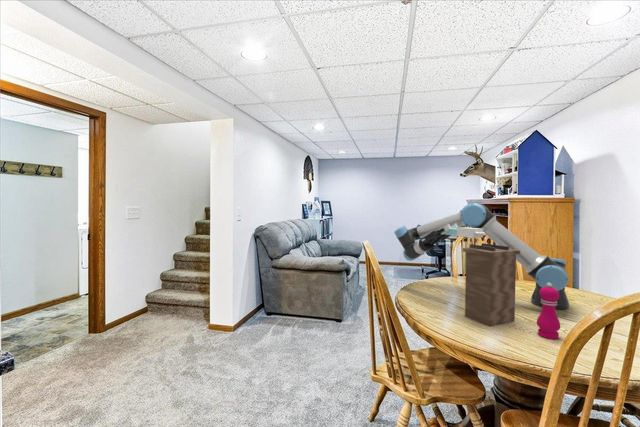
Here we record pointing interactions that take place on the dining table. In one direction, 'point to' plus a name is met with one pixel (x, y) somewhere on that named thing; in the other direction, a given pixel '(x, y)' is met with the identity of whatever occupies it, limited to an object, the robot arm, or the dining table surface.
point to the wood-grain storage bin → (490, 283)
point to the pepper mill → (548, 313)
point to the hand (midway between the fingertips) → (453, 226)
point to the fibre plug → (466, 232)
